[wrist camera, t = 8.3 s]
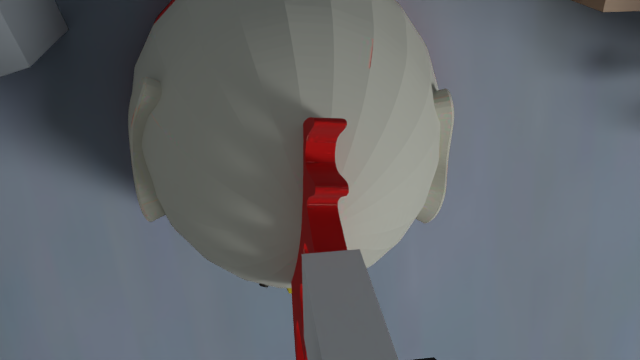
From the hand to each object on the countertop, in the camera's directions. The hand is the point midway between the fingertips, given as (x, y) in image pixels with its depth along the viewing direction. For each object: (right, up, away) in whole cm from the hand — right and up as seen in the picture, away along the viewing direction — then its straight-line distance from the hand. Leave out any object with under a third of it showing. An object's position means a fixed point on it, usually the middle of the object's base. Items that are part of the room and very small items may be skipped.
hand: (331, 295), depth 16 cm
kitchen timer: (-2, +7, +14) cm, 16 cm away
